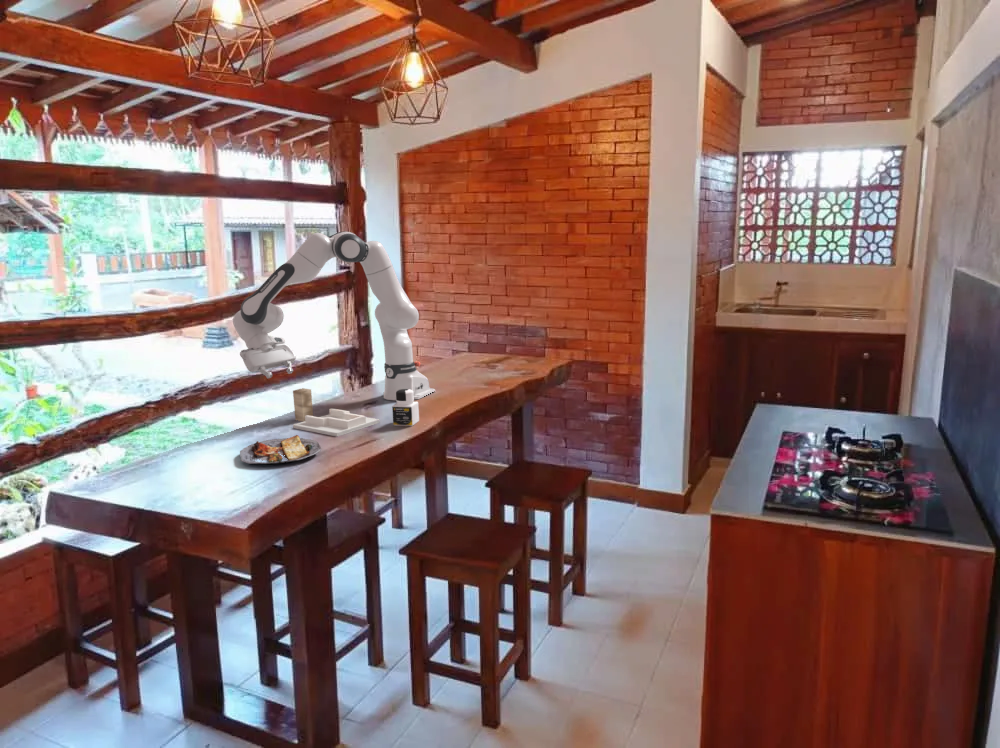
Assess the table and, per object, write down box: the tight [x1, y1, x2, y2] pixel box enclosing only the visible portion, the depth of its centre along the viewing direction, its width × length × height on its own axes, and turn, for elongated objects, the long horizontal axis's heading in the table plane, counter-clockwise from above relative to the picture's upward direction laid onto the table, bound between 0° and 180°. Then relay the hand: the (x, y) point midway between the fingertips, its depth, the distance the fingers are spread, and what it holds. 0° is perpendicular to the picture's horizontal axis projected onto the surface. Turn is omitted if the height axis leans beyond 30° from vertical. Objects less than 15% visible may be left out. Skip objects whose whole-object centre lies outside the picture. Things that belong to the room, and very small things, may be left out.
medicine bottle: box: [392, 389, 420, 427], centre depth 256 cm, size 7×7×12 cm
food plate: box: [239, 434, 322, 465], centre depth 225 cm, size 25×23×4 cm
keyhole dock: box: [292, 408, 381, 438], centre depth 257 cm, size 20×22×4 cm
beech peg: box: [292, 387, 314, 422], centre depth 266 cm, size 4×4×11 cm
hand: (280, 374), depth 271 cm, fingers open, 8 cm apart
